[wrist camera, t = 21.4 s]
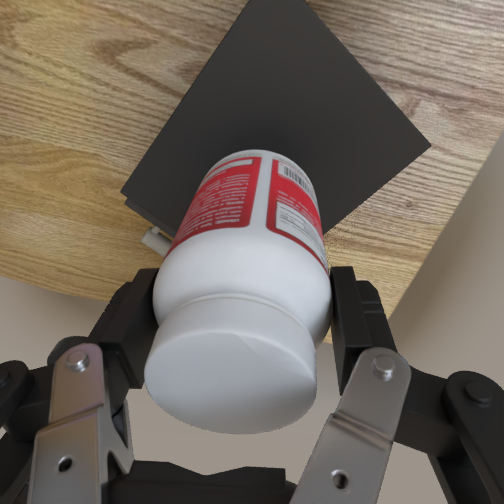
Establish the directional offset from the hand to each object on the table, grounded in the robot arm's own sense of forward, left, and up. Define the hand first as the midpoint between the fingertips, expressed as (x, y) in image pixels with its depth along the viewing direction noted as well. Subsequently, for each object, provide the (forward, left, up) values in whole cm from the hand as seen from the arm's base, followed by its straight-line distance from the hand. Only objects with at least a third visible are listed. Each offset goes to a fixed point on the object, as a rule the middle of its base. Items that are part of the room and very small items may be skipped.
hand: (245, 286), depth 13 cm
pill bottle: (0, 0, -7) cm, 7 cm away
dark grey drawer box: (0, 0, -21) cm, 21 cm away
